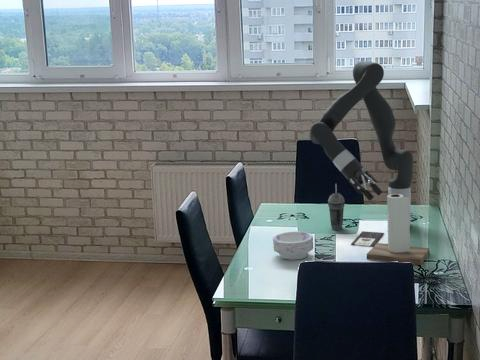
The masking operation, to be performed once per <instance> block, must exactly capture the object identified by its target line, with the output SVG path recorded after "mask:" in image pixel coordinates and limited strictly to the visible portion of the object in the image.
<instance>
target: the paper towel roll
mask: <svg viewBox="0 0 480 360" xmlns="http://www.w3.org/2000/svg"><path fill="white" fill-rule="evenodd" d="M386 207H387V208H386V209H387V211H386V212H387V244H388V250H389V251H390V252H394V253H401V252H410V246H411V239H410V238H411V237H410V235H411V234H410V233H411V232H410V227H411V226H410V227H409V197H404V196H403V195H401V194H390V195H389V194H388V195H386Z"/></svg>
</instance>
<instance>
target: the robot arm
mask: <svg viewBox="0 0 480 360" xmlns="http://www.w3.org/2000/svg"><path fill="white" fill-rule="evenodd" d="M384 75H385V70H384V67H383V66H382V65H381V64H379V63H377V62H373V61H372V62H371V61H366V60H364V61H363V60H362V61H358V62H357V63H355V64H354V65H353V68H352V77H353V80H354V83H355V84H356V85H354V86H353V87H352V88H351V89H349V90H347V91H346V92H345V93H343V94H341V95H339V97H337V98H336V99H335V100H334V101H333V102H331V104H330V105H329V107H327V109H326V110H325V112H324V113H323V114H322V115H323V116H322V118H321V119H320V120H318V121H316V122H314V123H313V124H312V125H311V127H310V129H309V130H310V131H309V139H310V141H311V142H312V143H313V144H315V145H320V146H321V147H322V149H323V151H324V153H325V154H326V156H327V157H328V158H329V159H330V161H331V162H332V163H333V164H334V166H335V167H336V168H337V169H338V171H339V172H340V173H341V174H342V175H343V176H344V177H345V178H346V180H348V183H349V184H350V185H351V186H352V187H353V189H354V190H355V191H356V193H358V194H362V195H363V196H364V197H365V198H366V199H367V200H368V201H372V200H373V199H374V198H375V196H374V195H373V194H372V193H371V192H370V190H369V189H368V188H367V187H370V189H371V190H372V191H373V192H374V193H375V194H376V195H377V196H380V195H382V194H383V190H382V189H381V188H380V187H379V186H378V184H377V183H378V181H377V179H376V178H375V177H374V176H373V175H372V174H371V173H370V172H369V171H368V170H365V171H362V169H363V168H364V167H363V165H362V164H361V163H360V162H359V160H358V159H357V158H356V157H355V156H354V155H353V154H352V153H351V152H350V151H349V150H348V149H347V148H346V147H345V146H344V145H343V143H341V142H340V141H339V140H338V138H337V136H336V135H335V134H334V133H335V132H333V131H335V129H336V128H337V126H338V125H339V124H340V123H341V122H342V120H344V118H345V117H346V116H347V114H349V113H350V111H351V110H352V109H353V108H354V106H356V105H358V103H359V102H360V101H362V99H363V102H364V104H365V107H366V109H367V113H368V115H369V118H370V121H371V123H372V127H373V129H374V132H375V135H376V138H377V141H378V144H379V147H380V151H381V156H382V160H383V163H384V166H385V167H386V168H387V170H391V171H396V172H397V174H396V175H397V176H396V177H393V178H391V179H389V180H388V195H390V194H401V195H403V196H404V197H409V227H411V222H412V221H411V219H412V217H411V216H412V214H411V213H412V211H411V209H412V208H411V207H412V206H411V205H412V204H411V203H412V201H411V200H412V199H411V197H412V195H411V193H412V192H411V189H412V188H411V184H412V181H413V175H414V174H413V172H414V156H413V153H412V152H411V151H410V150H407V149H401V148H400V149H399V148H397V147H396V145H395V143H394V139H393V136H394V132H395V129H396V125H397V123H396V121H397V120H396V118H395V115H394V112H393V109H392V107H391V105H390V104H389V103H388V101H387V100H386V99H385V98H384V96H383V95H382V94H381V93H380V92H379V90H378V88H377V86H379V85H380V83H381V82H382V80H383V78H384Z"/></svg>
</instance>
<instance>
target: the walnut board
mask: <svg viewBox="0 0 480 360" xmlns="http://www.w3.org/2000/svg"><path fill="white" fill-rule="evenodd" d="M430 252H431V251H430V247H419V246H413V245H412V246H411V245H410V252H401V253H394V252H390V251H389V250H388V243H383V242H382V243H381V242H377V243H376V245H375V246H374V247H371V249H370V250H368V252H367V253H366V260H373V261H380V262H389V261H398V262H411V263H413V264H412V265H416V266H421V265H422V264H423V263H424V261H425V260H426V259H427V257H428V256H429V255H430ZM398 262H397V263H398Z"/></svg>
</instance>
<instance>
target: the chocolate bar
mask: <svg viewBox="0 0 480 360" xmlns="http://www.w3.org/2000/svg"><path fill="white" fill-rule="evenodd" d="M384 234H385V233H384V232H377V231H361V232H360V233H359V235H357V237H356V238H355V239H354V240H353V241H352V242H351V243H350V246H355V245H358V247H368V248H373V247H374V246H375V245H376V244H377V243H379V241H380V240H381V238H383V236H384Z"/></svg>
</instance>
